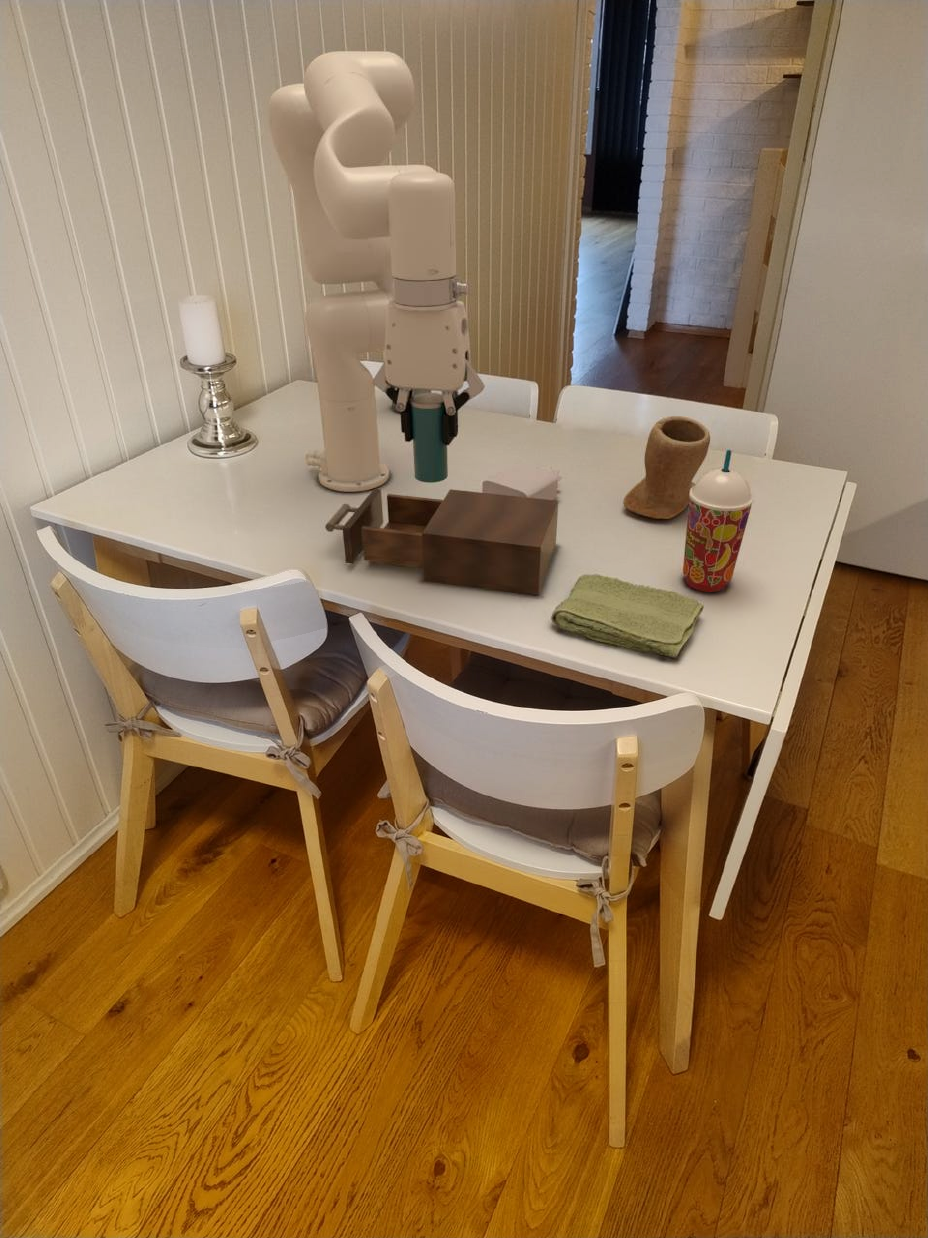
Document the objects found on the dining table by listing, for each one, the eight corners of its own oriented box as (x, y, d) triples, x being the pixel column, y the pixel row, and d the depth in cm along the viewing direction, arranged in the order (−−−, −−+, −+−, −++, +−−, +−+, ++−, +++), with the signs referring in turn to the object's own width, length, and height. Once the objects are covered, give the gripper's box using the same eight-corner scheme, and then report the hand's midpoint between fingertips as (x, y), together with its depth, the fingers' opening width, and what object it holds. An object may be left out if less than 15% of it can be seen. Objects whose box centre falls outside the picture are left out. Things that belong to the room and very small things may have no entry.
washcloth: (679, 666, 103) (683, 644, 102) (546, 630, 110) (547, 610, 108) (704, 613, 113) (708, 593, 111) (580, 583, 120) (582, 564, 118)
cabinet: (423, 580, 121) (421, 532, 116) (450, 534, 133) (450, 489, 128) (538, 595, 117) (540, 546, 113) (555, 546, 129) (558, 500, 125)
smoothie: (668, 569, 123) (687, 439, 112) (724, 566, 124) (748, 437, 113) (686, 599, 116) (708, 464, 105) (744, 596, 117) (772, 462, 106)
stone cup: (681, 532, 133) (695, 442, 124) (613, 513, 138) (622, 426, 130) (716, 497, 143) (731, 413, 135) (651, 481, 149) (662, 399, 140)
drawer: (319, 559, 124) (314, 524, 121) (351, 519, 135) (348, 485, 132) (447, 576, 120) (446, 539, 117) (470, 532, 131) (470, 498, 128)
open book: (576, 489, 146) (526, 520, 137) (533, 475, 151) (482, 504, 141) (578, 463, 144) (527, 493, 134) (534, 451, 148) (482, 478, 139)
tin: (419, 467, 113) (416, 391, 108) (452, 470, 112) (450, 393, 107) (409, 481, 110) (405, 402, 104) (443, 484, 109) (441, 405, 103)
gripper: (501, 287, 100) (500, 435, 109) (368, 282, 103) (378, 424, 113) (487, 301, 93) (486, 456, 103) (345, 295, 97) (358, 444, 107)
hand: (429, 438), depth 108 cm, fingers closed on tin, 4 cm apart
